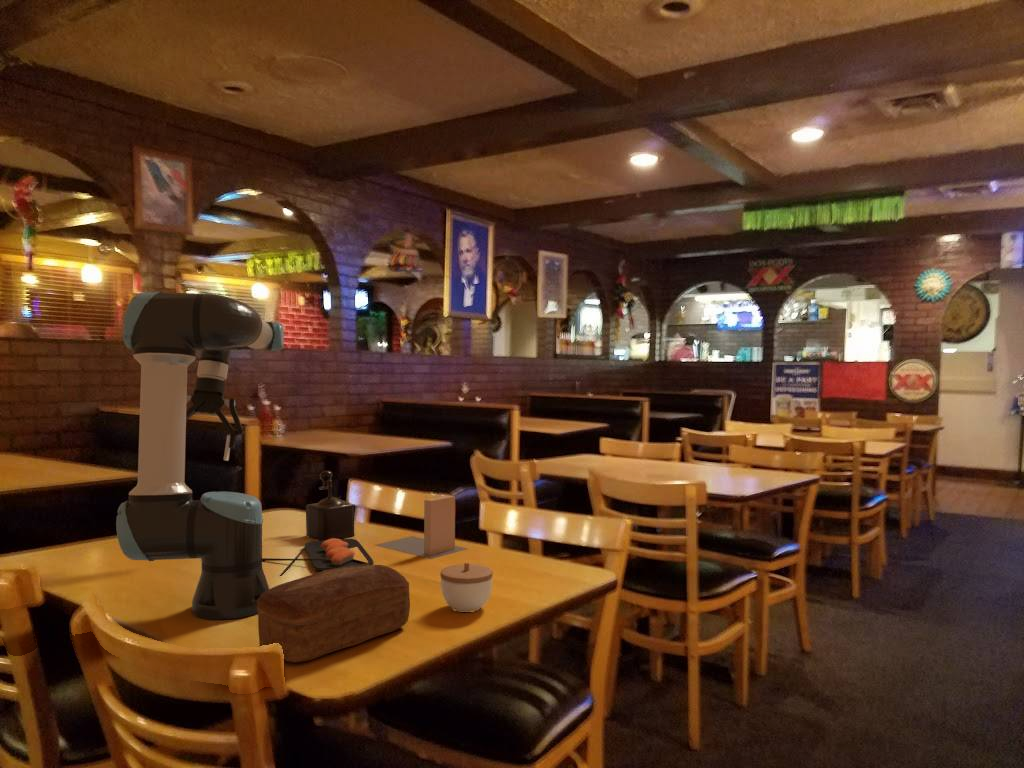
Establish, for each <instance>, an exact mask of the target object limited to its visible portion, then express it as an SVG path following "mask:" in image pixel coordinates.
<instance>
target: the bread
mask: <svg viewBox="0 0 1024 768" xmlns="http://www.w3.org/2000/svg"><path fill="white" fill-rule="evenodd" d="M410 598H411V597H410V582H409V581H408V580H407V579H406V577H405V576H404V575H403V574H401V572H399V571H397V570H396V569H394V568H392V567H390V566H386V565H382V564H373V565H369V564H363V565H354V566H347V567H341V568H334V569H328V570H320V571H319V572H316V573H314V574H310V575H306V576H303V577H300V578H297V579H294V580H290V581H287V582H284V583H281V584H278V585H276V586H274V587H272V588H271V587H270V588H269V590H267V591H265V592H264V593H263V594H262V595H260V597H259V598H258V603H257V611H258V613H257V623H258V624H257V626H258V627H257V628H258V629H257V630H258V640H259V641H258V642H259V647H260V646H262V645H269V644H273V643H279V644H280V645H281V646H282V649H283V654H284V660H285V662H287V663H294V664H295V663H302V662H308V661H311V660H315V659H317V658H320V657H322V656H325V655H328V654H330V653H333V652H336V651H338V650H342V649H344V648H345V649H346V648H349V647H353V646H356V645H358V644H361V643H363V642H367V641H368V640H370V639H373V638H375V637H379V636H381V635H385V634H388V633H392V632H395V631H397V630H399V629H401V628H402V627H403V626H404V625H406V623H408V622H409V617H410V611H411V610H410V609H411V601H410V600H411V599H410Z"/></svg>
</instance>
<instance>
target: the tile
mask: <svg viewBox="0 0 1024 768" xmlns="http://www.w3.org/2000/svg"><path fill="white" fill-rule="evenodd" d="M423 501H424V502H423V503H424V507H423V508H424V510H423V511H424V513H423V514H424V517H423V520H424V521H423V522H424V523H423V524H424V525H423V527H424V528H423V529H424V530H423V531H424V532H423V539H424V554H428V555H432V554H436V553H440V552H444V551H448V550H451V549H455V546H456V545H455V543H456V496H453V495H445V496H438V497H433V498H432V497H431V498H428V499H424V500H423Z"/></svg>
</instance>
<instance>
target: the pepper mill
mask: <svg viewBox="0 0 1024 768" xmlns="http://www.w3.org/2000/svg"><path fill="white" fill-rule="evenodd" d="M332 477H333V472H332V471H330V470H323V471H322V472H320V474H319V479H320V480H321V481H322V486H320V487H318V489H319V490H321V491H322V490H327V491H328V493H327V494H328V495H327V497H325V498H323V499H320V500H319V502H317V503H311V504H310V503H309V504H305V529H306V530H305V532H306V533H305V534H306V536H307V537H308V538H311V539H313V540H315V541H322V540H328V539H332V538H336V539H349V538H352V537H355V504H352V503H348V502H347V501H345V500H342V499H341V498H342V496H341V495H339V496H338V497H335V496H333V495H332V488H333V480H332Z"/></svg>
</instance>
